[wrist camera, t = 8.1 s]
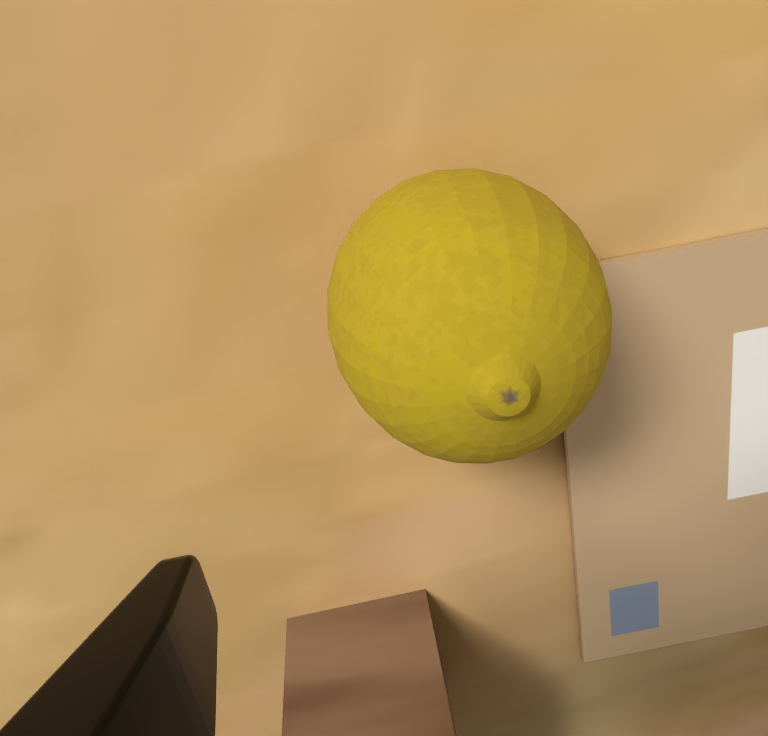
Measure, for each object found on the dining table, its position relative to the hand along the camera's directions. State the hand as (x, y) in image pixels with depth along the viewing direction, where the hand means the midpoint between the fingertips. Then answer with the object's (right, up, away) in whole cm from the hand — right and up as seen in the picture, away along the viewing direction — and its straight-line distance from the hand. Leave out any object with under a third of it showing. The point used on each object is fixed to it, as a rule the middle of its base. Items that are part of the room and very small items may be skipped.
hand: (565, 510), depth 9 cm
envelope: (+8, -1, +13) cm, 16 cm away
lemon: (-1, +5, +10) cm, 11 cm away
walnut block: (-3, -8, +15) cm, 17 cm away
